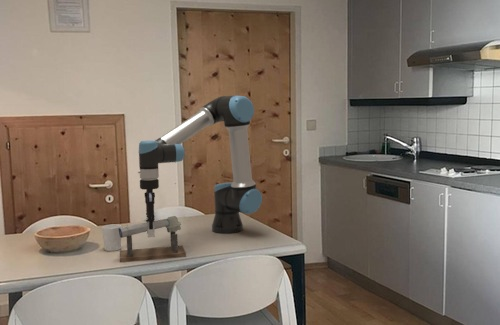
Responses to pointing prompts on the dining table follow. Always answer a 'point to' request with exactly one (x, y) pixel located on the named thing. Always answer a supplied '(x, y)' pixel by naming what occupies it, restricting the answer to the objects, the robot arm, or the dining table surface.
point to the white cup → (111, 237)
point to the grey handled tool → (169, 223)
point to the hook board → (152, 251)
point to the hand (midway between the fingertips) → (150, 235)
